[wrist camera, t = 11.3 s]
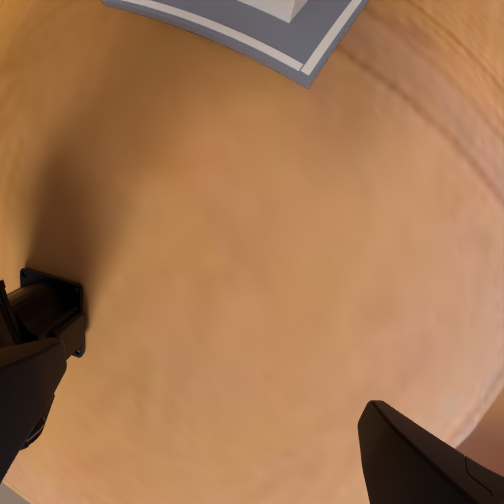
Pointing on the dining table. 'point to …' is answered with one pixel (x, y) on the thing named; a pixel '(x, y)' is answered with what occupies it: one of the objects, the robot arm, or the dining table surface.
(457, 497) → the robot arm
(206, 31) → the base
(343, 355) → the dining table surface
